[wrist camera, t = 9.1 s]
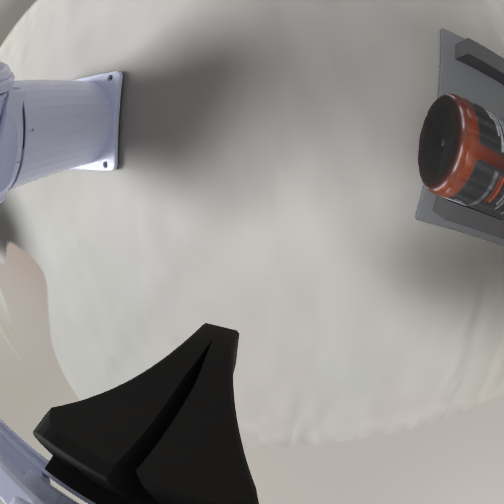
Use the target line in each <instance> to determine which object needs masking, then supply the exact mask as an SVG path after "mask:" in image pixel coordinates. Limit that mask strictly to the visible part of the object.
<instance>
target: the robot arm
mask: <svg viewBox="0 0 504 504" xmlns="http://www.w3.org/2000/svg"><path fill="white" fill-rule="evenodd" d="M112 76H113V78H112V80H111V77H112ZM14 78H15V76H14V74H13V72H12V71H11V70H10V68H9V66H8V65H7V64H5V63H3V62H0V203H2V202H4V199H5V194H6V192H7V190H10V189H13V188H15V187H18V186H21V185H23V184H26V183H29V182H31V181H34V180H37V179H40V178H43V177H46V176H49V175H52V174H55V173H58V172H61V171H65V170H68V169H82V170H102V171H113V170H115V169H116V168H117V165H118V128H119V111H120V99H121V88H122V79H123V74H122V73H121V72H119V71H114V72H109V73H103V74H98V75H94V76H89V77H85V78H80V79H76V80H23V81H14ZM106 162H107V163H108V167H107V165H106ZM238 339H239V333H238V332H237V331H236V330H232V329H228V328H224V327H219V326H215V325H211V324H207V323H205V324H204V325H202V326H201V327H200V328H199V329H198V330H197V331H196V332H195V333H194V334H193V335H192V336H191V337H189V338H188V339H187V340H186V341H185V342H184V343H183V344H181V345H180V346H179V347H178V348H176V349H175V350H174V351H173V352H172V353H170V354H169V355H168V356H166V357H165V358H164V359H162V360H161V361H159V362H158V363H157V364H155V365H154V366H152V367H151V368H149V369H148V370H146V371H145V372H143V373H142V374H140V375H138V376H136V377H135V378H133V379H131V380H129V381H128V382H126V383H124V384H121V385H119V386H117V387H115V388H113V389H111V390H109V391H106V392H104V393H101V394H99V395H96V396H93V397H90V398H88V399H85V400H82V401H78V402H74V403H70V404H66V405H63V406H58V407H53V408H51V409H50V410H49V411H48V412H47V414H46V415H45V416H44V417H43V419H42V420H41V422H40V423H39V424H38V426H37V427H36V429H35V430H34V431H33V434H34V436H35V437H36V439H37V440H38V441H39V442H40V443H41V444H42V445H43V446H44V447H45V448H46V449H47V450H48V451H49V452H50V453H51V454H52V455H53V457H52V458H51V460H50V461H48V460H47V459H46V458H44V457H43V456H42V455H41V454H39V453H38V452H37V451H35V450H34V449H33V448H32V447H30V446H29V445H28V444H27V443H26V442H24V440H22V439H21V438H20V437H19V436H18V435H17V434H16V433H15V432H14V431H13V430H11V429H10V428H9V427H8V426H7V425H6V424H5V423H4V422H3V421H2V420H1V419H0V498H1V499H2V501H3V502H4V503H5V504H79V503H77V502H76V501H74V500H73V499H71V498H70V497H68V496H67V495H65V494H63V493H62V492H61V491H59V490H58V489H56V488H55V487H54V486H52V485H51V484H50V479H49V478H51V479H52V480H53V481H55V482H56V483H58V484H59V485H60V486H62V487H64V488H65V489H66V490H68V491H69V492H71V493H72V494H74V495H75V496H77V497H78V498H80V499H82V500H83V501H85V502H87V503H88V504H259V502H258V497H257V491H256V487H255V485H254V482H253V479H252V476H251V474H250V470H249V468H248V464H247V461H246V457H245V454H244V450H243V446H242V442H241V437H240V433H239V428H238V423H237V417H236V410H235V402H234V390H233V372H234V369H235V365H236V357H237V348H238Z"/></svg>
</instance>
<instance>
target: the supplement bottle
mask: <svg viewBox="0 0 504 504" xmlns="http://www.w3.org/2000/svg"><path fill="white" fill-rule="evenodd" d="M418 163H419V171H420V176H421V178H422V181H423V184H424V186H425V187H426V188H427V189H428V190H429V191H430V192H431V193H433V194H435V195H438V196H441V197H443V198H446V199H449V200H452V201H454V202H457V203H460V204H463V205H465V206H469V207H471V208H473V209H476V210H479V211H481V212H484V213H486V214H489V215H491V216H494V217H496V218H499V219H501V220H503V221H504V119H502V118H500V117H499V116H497V115H495V114H494V113H492V112H490V111H488V110H486V109H484V108H483V107H481V106H479V105H477V104H475V103H473V102H471V101H469V100H467V99H465V98H462V97H460V96H458V95H455V94H450V93H449V94H444V95H442V96H440V97H439V98H438V99H437V100H436V101H435V102H434V103H433V105H432V106H431V108H430V110H429V111H428V115H427V117H426V119H425V121H424V125H423V128H422V131H421V135H420V142H419V154H418Z"/></svg>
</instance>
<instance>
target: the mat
mask: <svg viewBox="0 0 504 504" xmlns="http://www.w3.org/2000/svg"><path fill="white" fill-rule="evenodd" d="M449 93H450V94H455V95H458V96H460V97H462V98H465V99H467V100H469V101H471V102H473V103H475V104H477V105H479V106H481V107H483V108H484V109H486V110H488V111H490V112H492V113H494V114H495V115H497V116H499V117H500V118H502V119H504V59H503V58H502V57H500V56H498V55H497V54H495V53H494V52H492V51H490V50H489V49H487V48H485V47H483V46H482V45H480V44H478V43H476V42H474V41H473V40H471V39H469V38H467V39H463V38H461V37H459V36H457V35H455V34H453V33H451V32H449V31H447V30H444V29H441V30H440V76H439V90H438V98H439V97H440V96H442V95H444V94H449ZM415 218H416V219H417V220H420V221H424V222H427V223H431V224H435V225H438V226H442V227H445V228H449V229H452V230H456V231H459V232H462V233H466V234H469V235H472V236H475V237H478V238H482V239H485V240H488V241H491V242H494V243H497V244H500V245H503V246H504V221H503V220H501V219H499V218H496V217H494V216H491V215H489V214H486V213H484V212H481V211H479V210H476V209H473V208H471V207H469V206H465V205H463V204H460V203H457V202H454V201H452V200H449V199H446V198H443V197H441V196H438V195H435V194H433V193H431V192H430V191H429V190H428V189H427V188H426V187H425V186H424V185H423V189H422V193H421V197H420V201H419V205H418V209H417V212H416V216H415Z"/></svg>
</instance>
